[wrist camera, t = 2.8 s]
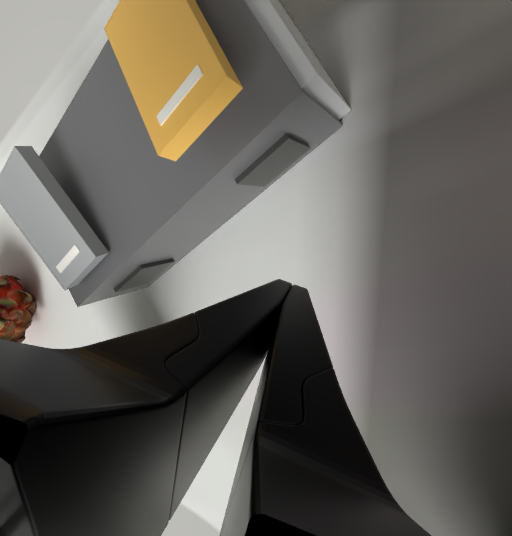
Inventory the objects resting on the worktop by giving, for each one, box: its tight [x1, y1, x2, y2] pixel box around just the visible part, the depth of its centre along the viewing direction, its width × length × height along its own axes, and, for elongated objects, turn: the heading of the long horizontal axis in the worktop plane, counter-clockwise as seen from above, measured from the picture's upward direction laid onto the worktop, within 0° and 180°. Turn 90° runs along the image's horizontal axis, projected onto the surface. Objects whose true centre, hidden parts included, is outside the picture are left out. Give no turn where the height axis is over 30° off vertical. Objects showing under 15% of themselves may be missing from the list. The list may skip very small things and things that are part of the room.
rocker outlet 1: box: [0, 146, 109, 290], centre depth 21 cm, size 8×4×1 cm, turn 34°
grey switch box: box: [39, 0, 351, 307], centre depth 22 cm, size 10×22×6 cm, turn 124°
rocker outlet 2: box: [104, 0, 243, 161], centre depth 14 cm, size 8×4×1 cm, turn 34°
